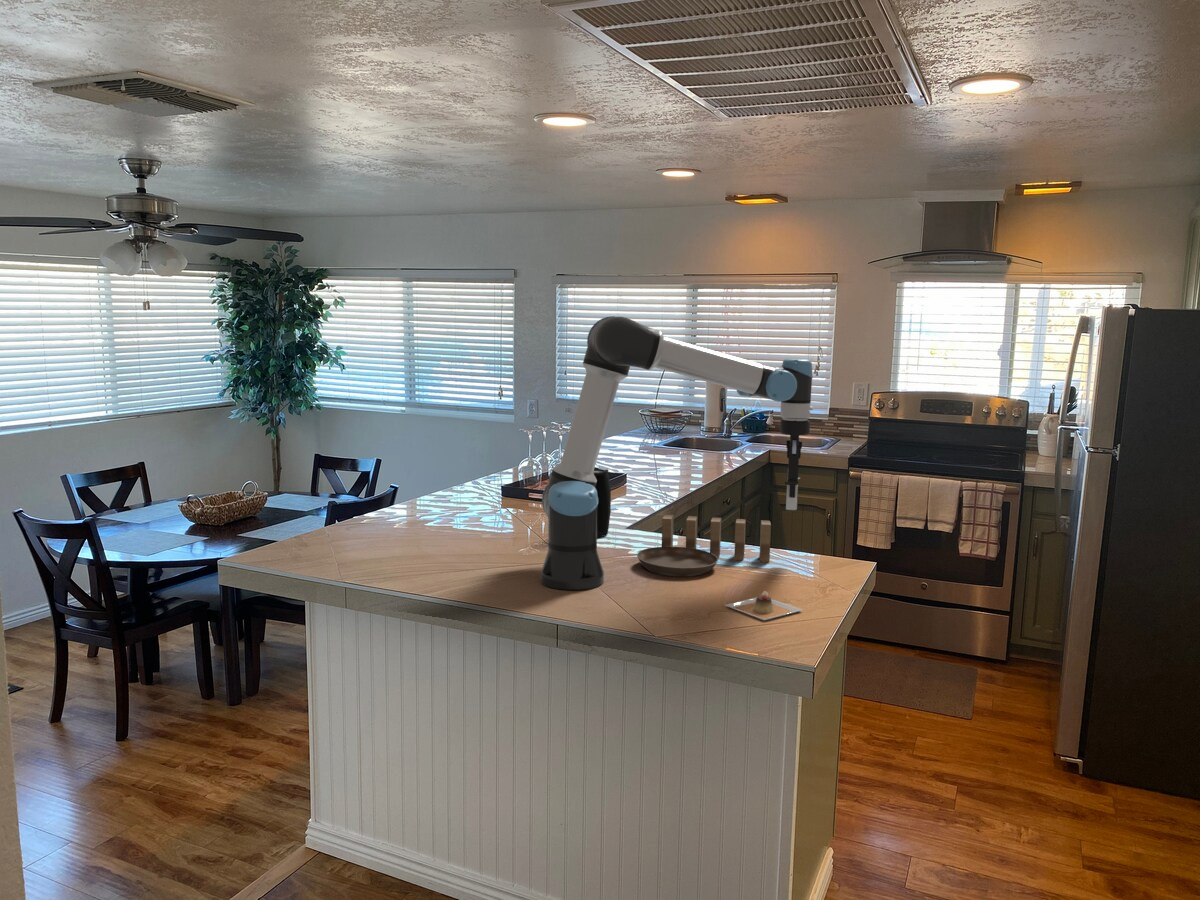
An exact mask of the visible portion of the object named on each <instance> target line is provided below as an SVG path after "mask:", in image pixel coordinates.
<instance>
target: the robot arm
mask: <svg viewBox="0 0 1200 900" xmlns="http://www.w3.org/2000/svg"><path fill="white" fill-rule="evenodd" d="M586 344H587V345H586V346H587V348H586V351H585V355H584V358H583V362H582V366H583V368H584V369H585V371H586V372H585V376H584V381H583V384H582V388H581V390H580V393H579V397H578V402H577V404H576V408H575V410H574V411H575V412H574V414H573V419H572V422H571V425H570V429H569V433H568V436H567V440H566V443H565V446H564V450H563V454H562V457H561V460H560V463H559V464H557V465H555V466H554V467H553V468H552V470H551V474H550V476H549V481H548V483H547V484H546V486H545V488H544V490H543V492H542V496H541V497H542V498H541V504H542V509H543V511H544V513H545V515H546V516H547V519H548V520H547V521H548V523H547V524H548V529H547V530H548V532H547V533H548V538H547V539H548V540H547V541H548V543H547V544H548V546H547V547H548V549H547V553H546V556H545V559H544V561H543V565H542V568H541V570H540V582H541V584H543V585H544V586H546V587H549V588H552V589H556V590H568V591H575V590H576V591H577V590H579V591H580V590H588V589H589V590H590V589H593V588H596V587H599V586H602V585H603V584H604V580H605V578H604V577H605V576H604V575H605V574H604V573H605V571H604V569H603V566H602V562H601V559H600V557H599V553H598V538H597V506H598V496H597V490H596V488H595V486H596V482H597V479H596V478H595V476H594V473H593V471H594V468H596V464H597V460H598V457H599V453H600V451H601V447H602V443H603V440H604V437H605V433H606V429H607V427H608V423H609V419H610V415H611V412H612V408H613V405H614V402H615V399H616V394H617V392H618V388H619V384H620V382H621V381H622V380H624V379H626V378H628V376H629V371H630V368H631V367H632V368H633V367H634V368H640V369H644V370H647V371H650V370H652V369H654V368H656V369H660V370H663V371H666V372H667V371H668V372H670V373H674V374H679V375H680V376H681V375H682V376H685V377H689V378H693V379H697V380H699V381H704V382H708V383H711V384H715V385H718V386H722V387H726V388H729V389H731V390H735V391H736V393H737V394H738V395H739V396H741V397H742V396H743V397H748V398H750V397H759V398H764V399H768V400H771V401H774V402H777V403H779V402H780V413H779V414H780V415H779V416H780V418H782V419H780V422H779V423H780V424H779V432H780V434H781V435H786V436H787V435H788V436H789V439H788V440H786V445H785V447H786V458H787V459H788V465H787V467H788V468H787V475H788V481H787V480H786V481H785V482H784V485H785V486H786V495H787V501H786V500H785V510H786V509H789V510H788V511H797V510H798V495H799V494H798V491H799V481H801V477H799V461H800V459H801V458H802V457H801V452H802V451H801V450H802V449H803V448H802V447H803V441H802V440H800V436H808V435H809V434H810V429H811V427H810V426H811V421H810V420H809V418H811V411H813V410H814V408H813V406H812V404H811V400H812V384H813V377H814V376H813V364H812V362H811V360H809V359H806V358H805V359H804V358H803V359H802V358H801V359H800V358H786V359H783V361H782V364H781V366H769V365H765V364H761V363H758V362H756V361H751V360H749V359H748V360H747V359H745V358H742V357H738V356H734V355H731V354H727V353H724V352H719V351H717V350H713V349H710V348H706V347H702V346H698V345H695V344H692V343H689V342H685V341H682V340H678V339H675V338H671V337H667V336H664V335H663V332H662V331H661V330H658V329H655V328H653V327H650V326H646V325H644V324H641V323H639V322H637V321H635V320H634V319H630V318H628V317H625V316H611V315H610V316H605V317H603V318H601V319H599V320H597V321H596V322H595V323H594V324H593V325H592V326H591V327H590V329H589V332H588V335H587V339H586Z"/></svg>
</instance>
